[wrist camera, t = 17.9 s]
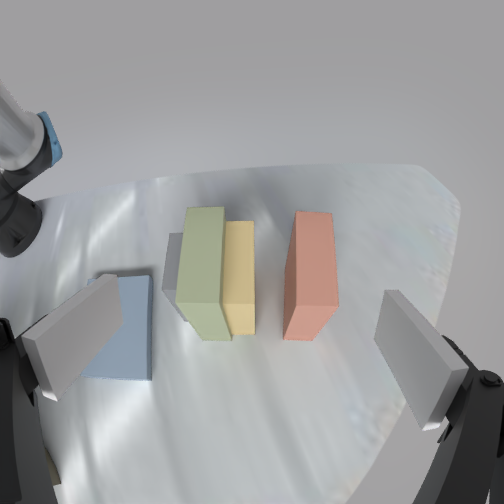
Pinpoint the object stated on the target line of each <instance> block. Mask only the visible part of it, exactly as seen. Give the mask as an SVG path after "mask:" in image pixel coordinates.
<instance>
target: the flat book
mask: <svg viewBox="0 0 504 504" xmlns="http://www.w3.org/2000/svg"><path fill="white" fill-rule="evenodd" d="M117 279H118V287H119V295H120V303H121V310H122V316H123V324H122V326H121V327H120V328H119V329H118V330H117V331H116V332H115V334H114V335H113V336H112V337H111V338H110V339H109V341H108V342H107V343H106V344H105V345H104V346H103V348H102V349H101V350H100V351H99V352H98V353H97V355H96V356H95V357H94V358H93V359H92V360H91V362H90V363H89V364H88V365H87V366H86V368H85V369H84V370H83V371H82V372H81V374H80V376H84V377H90V378H102V379H119V380H147V381H152V378H151V321H152V293H153V280H152V278H151V277H150V276H149V275H145V276H131V277H117ZM95 280H96V279H88V284H87V286H88V285H89V284H90V283H92V282H93V281H95Z"/></svg>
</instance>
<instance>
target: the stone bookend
mask: <svg viewBox="0 0 504 504" xmlns="http://www.w3.org/2000/svg"><path fill="white" fill-rule="evenodd" d="M182 239H183V233H170V235H169V241H168V248H167V254H166V261H165V268H164V275H163V283H162V291H163V293H164V294H165V295H166V297H167V298H168V299H169V301H170V302H171V304H172V305H173V306H174V308H175V309H176V310H177V312H178V313H179V314H180V316H181V317H182V318H183V320H184V321H188V320H187V319H186V317H185V316H184V314H183V313H182V312H181V310H180V309H179V307H178V306H177V305H176V303H175V299H176V289H177V280H178V271H179V263H180V255H181V247H182Z"/></svg>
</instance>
